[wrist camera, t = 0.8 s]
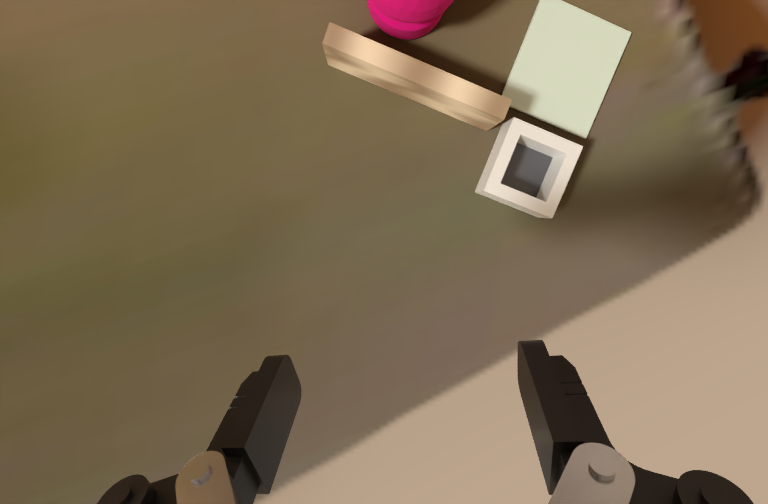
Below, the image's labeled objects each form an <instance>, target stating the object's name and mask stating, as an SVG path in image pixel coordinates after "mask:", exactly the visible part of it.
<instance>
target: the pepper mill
mask: <svg viewBox="0 0 768 504" xmlns="http://www.w3.org/2000/svg"><path fill="white" fill-rule="evenodd" d="M453 1H454V0H367V3H368V8H369V11H370V14H371V16H372V18H373V20H374V21H375V23H376V24H377V25H378V27H379V28H380V29H382V30H383V31H384V32H385V33H387V34H388V35H390V36H392V37H395V38H398V39H406V40H409V39H416V38H419V37H422V36H424V35H426V34H427V33H429V32H430V31H431V30H432V29H433V28H434V27H435V26H436V25H437V24H438V22H439V21H440V19H441V17H442V15H443V12H444V11H445V10H446V9H447V8H448V7H449V6H450V4H451V3H452V2H453Z"/></svg>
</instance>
